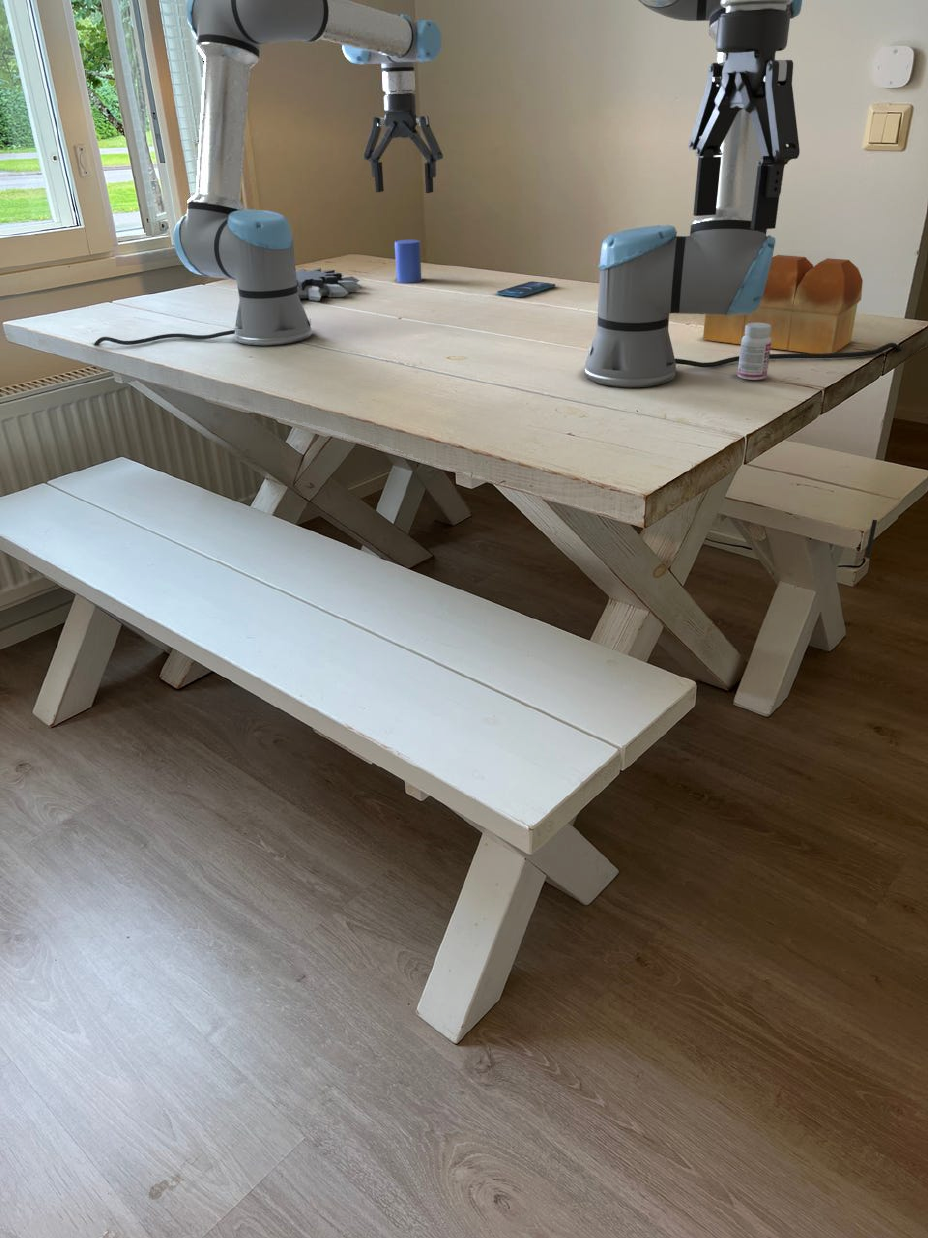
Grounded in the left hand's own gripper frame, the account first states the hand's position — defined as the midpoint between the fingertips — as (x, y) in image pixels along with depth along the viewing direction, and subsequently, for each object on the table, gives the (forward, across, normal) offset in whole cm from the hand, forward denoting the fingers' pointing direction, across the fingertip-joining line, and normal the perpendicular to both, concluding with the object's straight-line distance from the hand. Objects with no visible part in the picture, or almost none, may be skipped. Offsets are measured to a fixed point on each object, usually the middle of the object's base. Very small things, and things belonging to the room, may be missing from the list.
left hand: (404, 192), depth 231 cm
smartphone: (+21, -34, +5) cm, 40 cm away
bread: (+21, -95, +38) cm, 105 cm away
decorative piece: (+21, +19, +21) cm, 35 cm away
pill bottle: (+21, -95, +64) cm, 116 cm away
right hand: (-8, -95, +102) cm, 140 cm away
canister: (+21, 0, 0) cm, 21 cm away
